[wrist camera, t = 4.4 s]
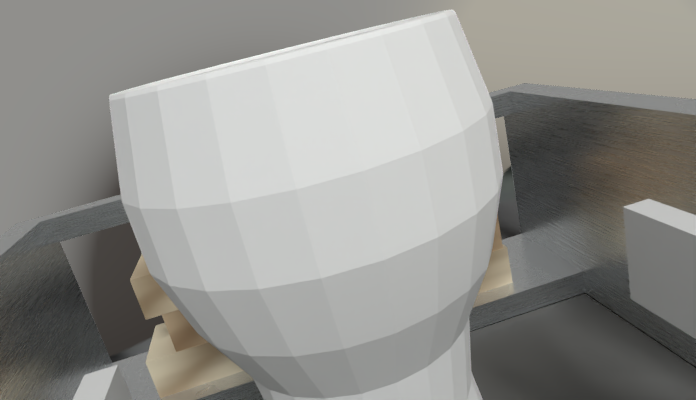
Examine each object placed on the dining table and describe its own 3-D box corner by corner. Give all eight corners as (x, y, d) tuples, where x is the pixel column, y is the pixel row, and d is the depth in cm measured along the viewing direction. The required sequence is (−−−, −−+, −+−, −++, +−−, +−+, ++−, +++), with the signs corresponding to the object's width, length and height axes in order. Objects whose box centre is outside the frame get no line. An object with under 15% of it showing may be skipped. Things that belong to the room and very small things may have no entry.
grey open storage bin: (-99, 848, 12) (-372, 526, 9) (92, 389, 29) (16, 223, 26) (880, 445, 16) (907, 119, 13) (545, 244, 33) (524, 83, 30)
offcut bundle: (160, 398, 25) (113, 285, 23) (168, 358, 28) (128, 256, 27) (512, 282, 27) (495, 171, 26) (482, 258, 31) (465, 158, 29)
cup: (193, 513, 20) (25, 114, 15) (376, 352, 27) (297, 44, 22) (433, 726, 12) (241, 67, 8) (599, 425, 19) (549, -16, 15)
